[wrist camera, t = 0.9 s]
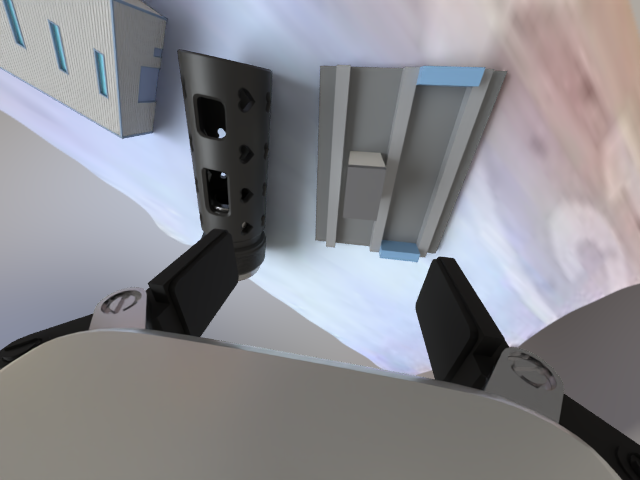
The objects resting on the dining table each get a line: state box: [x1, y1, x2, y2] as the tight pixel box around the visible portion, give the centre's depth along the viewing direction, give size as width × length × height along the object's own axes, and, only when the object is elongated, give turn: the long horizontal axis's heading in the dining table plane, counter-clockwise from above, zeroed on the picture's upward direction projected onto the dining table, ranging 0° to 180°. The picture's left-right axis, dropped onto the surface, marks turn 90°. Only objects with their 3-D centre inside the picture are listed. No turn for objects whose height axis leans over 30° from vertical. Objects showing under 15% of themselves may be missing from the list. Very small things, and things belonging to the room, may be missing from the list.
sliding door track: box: [315, 65, 507, 262], centre depth 31 cm, size 24×20×4 cm
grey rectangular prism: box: [343, 151, 387, 221], centre depth 28 cm, size 6×4×8 cm, turn 178°
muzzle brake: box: [177, 49, 272, 281], centre depth 31 cm, size 10×28×10 cm, turn 169°
